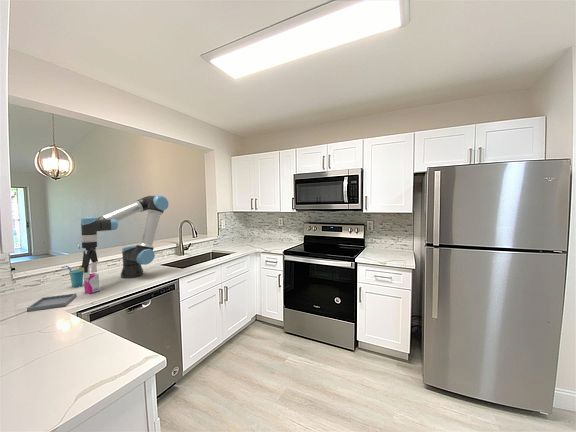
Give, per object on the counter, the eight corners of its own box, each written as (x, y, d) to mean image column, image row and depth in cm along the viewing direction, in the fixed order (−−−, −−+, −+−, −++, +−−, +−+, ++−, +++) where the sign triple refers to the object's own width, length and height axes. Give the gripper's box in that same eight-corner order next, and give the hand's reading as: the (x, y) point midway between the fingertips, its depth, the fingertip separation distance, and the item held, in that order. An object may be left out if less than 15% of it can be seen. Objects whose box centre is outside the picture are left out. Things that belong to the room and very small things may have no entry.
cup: (61, 290, 158) (59, 267, 157) (62, 287, 164) (61, 265, 163) (88, 285, 166) (87, 264, 166) (88, 282, 172) (87, 262, 172)
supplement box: (94, 289, 158) (94, 272, 157) (100, 291, 156) (99, 273, 155) (84, 292, 153) (83, 275, 152) (89, 294, 150) (88, 276, 150)
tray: (76, 296, 147) (76, 293, 147) (65, 306, 133) (65, 302, 133) (42, 300, 141) (42, 297, 141) (27, 311, 126) (26, 308, 126)
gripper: (88, 239, 162) (89, 270, 163) (73, 244, 139) (75, 281, 140) (102, 238, 165) (103, 269, 166) (90, 243, 143) (91, 279, 143)
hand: (90, 274), depth 153 cm, fingers open, 13 cm apart
